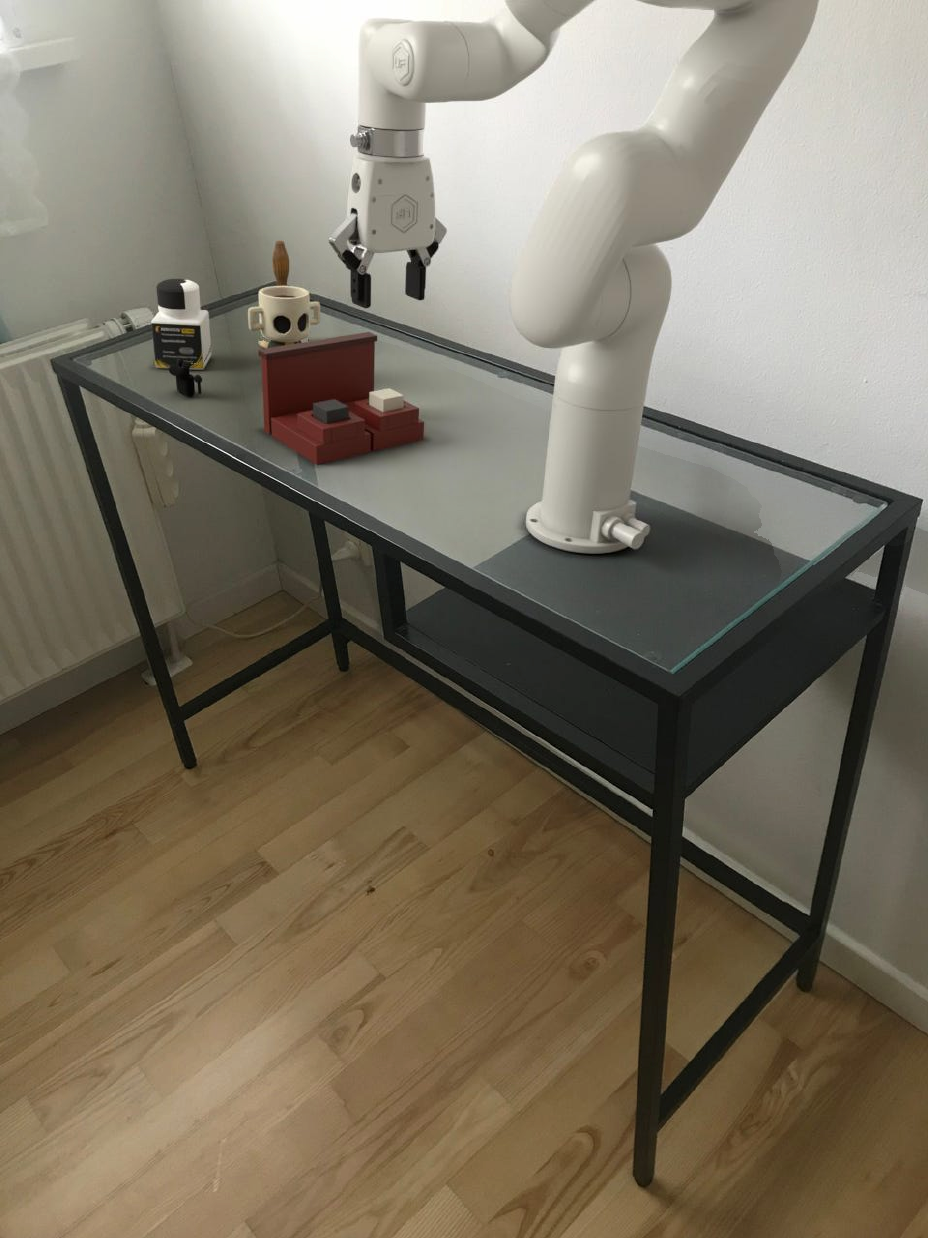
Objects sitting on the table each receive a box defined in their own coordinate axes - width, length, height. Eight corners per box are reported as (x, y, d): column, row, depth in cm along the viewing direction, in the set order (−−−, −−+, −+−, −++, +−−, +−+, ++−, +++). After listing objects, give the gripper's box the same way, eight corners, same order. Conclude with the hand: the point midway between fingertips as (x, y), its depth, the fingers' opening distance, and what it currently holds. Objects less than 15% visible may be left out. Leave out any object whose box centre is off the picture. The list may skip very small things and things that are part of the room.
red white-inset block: (424, 439, 137) (425, 406, 135) (373, 451, 132) (374, 417, 130) (376, 413, 144) (376, 381, 142) (326, 424, 140) (326, 391, 137)
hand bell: (300, 354, 164) (297, 249, 156) (250, 348, 166) (245, 243, 157) (317, 339, 171) (315, 238, 163) (269, 333, 173) (265, 233, 164)
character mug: (260, 393, 148) (256, 301, 141) (242, 378, 153) (238, 288, 146) (331, 384, 153) (330, 294, 146) (311, 369, 158) (309, 282, 152)
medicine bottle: (155, 368, 155) (146, 286, 148) (165, 353, 161) (157, 274, 154) (203, 370, 155) (197, 288, 149) (211, 356, 161) (206, 276, 155)
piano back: (376, 412, 144) (377, 335, 139) (269, 435, 135) (265, 353, 129) (368, 408, 146) (369, 331, 140) (261, 430, 136) (257, 349, 131)
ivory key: (403, 409, 134) (404, 395, 133) (383, 414, 133) (383, 399, 132) (389, 402, 136) (389, 387, 135) (369, 406, 135) (369, 391, 134)
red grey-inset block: (371, 452, 132) (371, 418, 130) (317, 465, 128) (316, 430, 125) (324, 424, 139) (323, 392, 137) (271, 436, 135) (270, 402, 133)
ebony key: (348, 421, 130) (348, 406, 129) (327, 426, 128) (326, 411, 127) (334, 413, 132) (334, 398, 131) (313, 418, 130) (312, 403, 129)
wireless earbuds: (206, 400, 145) (203, 364, 142) (191, 404, 143) (188, 368, 140) (175, 387, 148) (172, 352, 146) (160, 390, 147) (157, 355, 144)
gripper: (345, 151, 111) (345, 318, 120) (471, 145, 121) (462, 300, 130) (307, 141, 116) (310, 302, 125) (432, 137, 126) (426, 286, 135)
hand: (388, 300), depth 127 cm, fingers open, 7 cm apart
